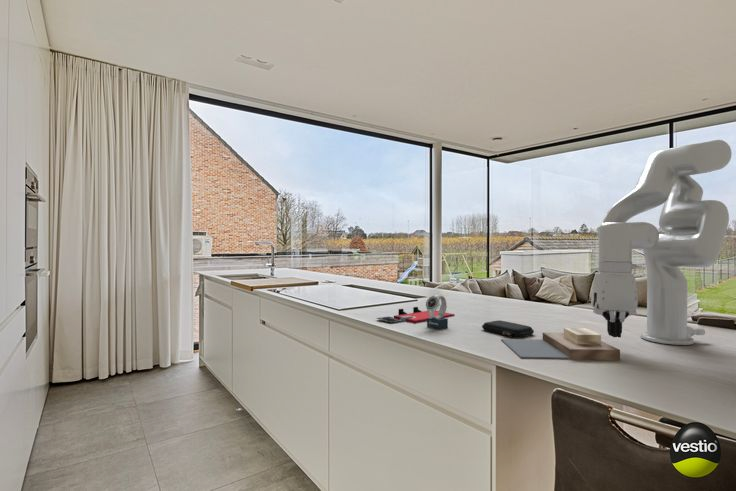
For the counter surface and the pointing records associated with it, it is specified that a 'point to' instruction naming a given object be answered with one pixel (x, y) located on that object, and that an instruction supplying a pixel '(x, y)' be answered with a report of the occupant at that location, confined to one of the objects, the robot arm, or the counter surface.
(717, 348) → the counter surface
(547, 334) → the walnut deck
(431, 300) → the watch
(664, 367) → the counter surface
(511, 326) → the carrying case or bag
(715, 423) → the counter surface
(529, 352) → the rubber mat
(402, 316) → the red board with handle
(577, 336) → the birch tile
